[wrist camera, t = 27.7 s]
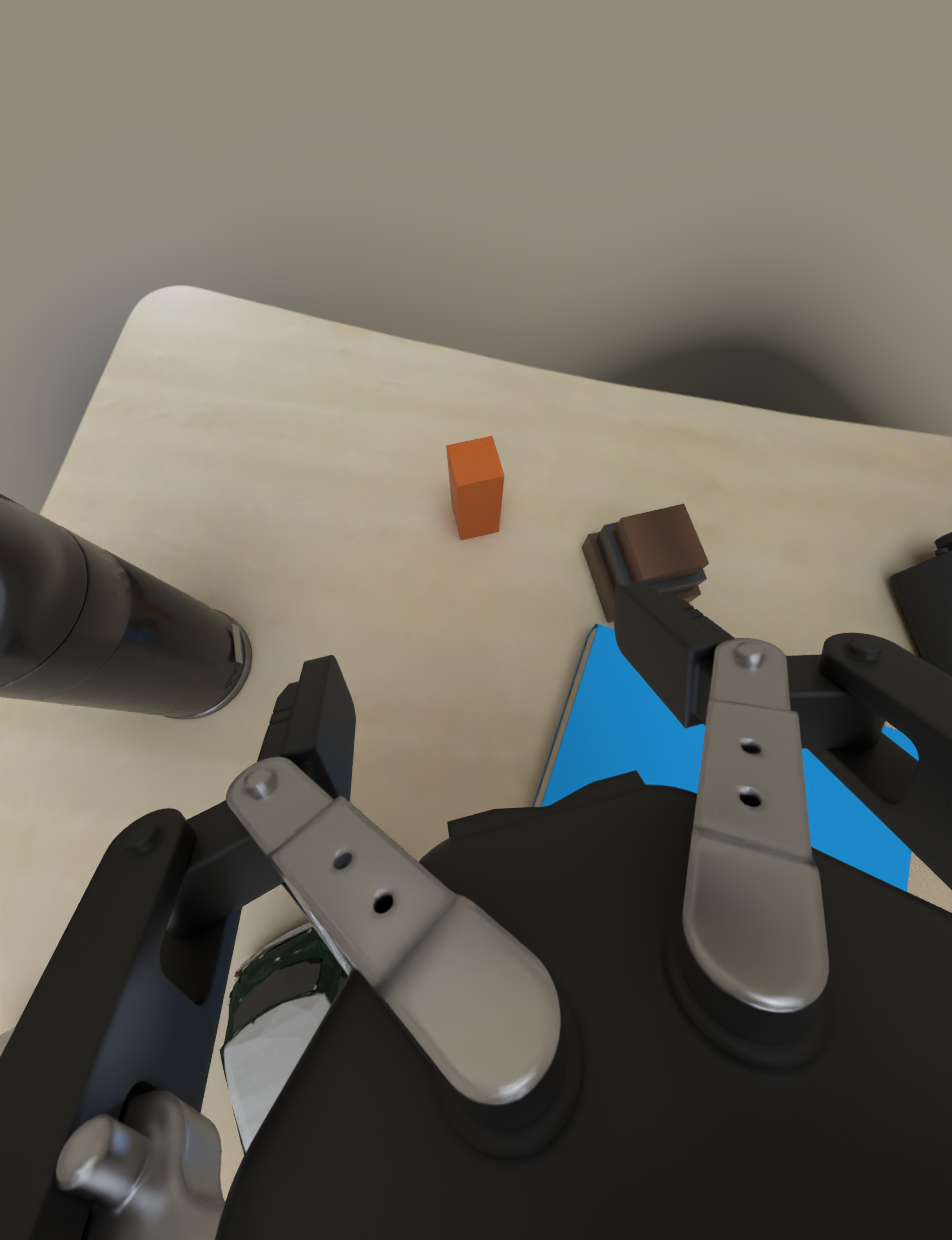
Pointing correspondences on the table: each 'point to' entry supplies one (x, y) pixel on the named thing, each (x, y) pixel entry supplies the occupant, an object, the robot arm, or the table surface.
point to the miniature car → (275, 1020)
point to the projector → (930, 604)
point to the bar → (475, 486)
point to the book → (694, 759)
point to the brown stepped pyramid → (647, 555)
